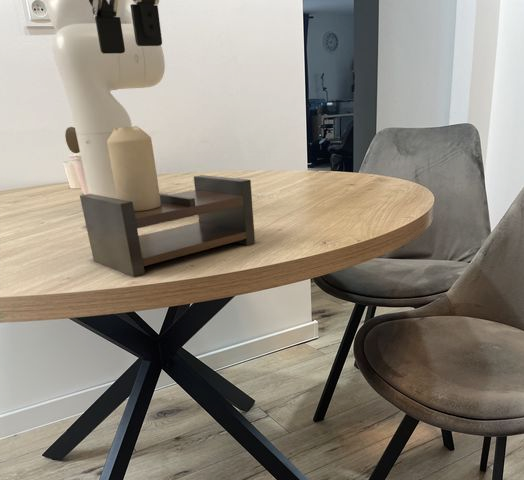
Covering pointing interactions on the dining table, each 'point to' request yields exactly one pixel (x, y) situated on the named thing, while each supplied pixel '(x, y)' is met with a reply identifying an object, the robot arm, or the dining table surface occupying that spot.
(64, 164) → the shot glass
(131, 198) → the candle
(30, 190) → the dining table surface
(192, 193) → the rack
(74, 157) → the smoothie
